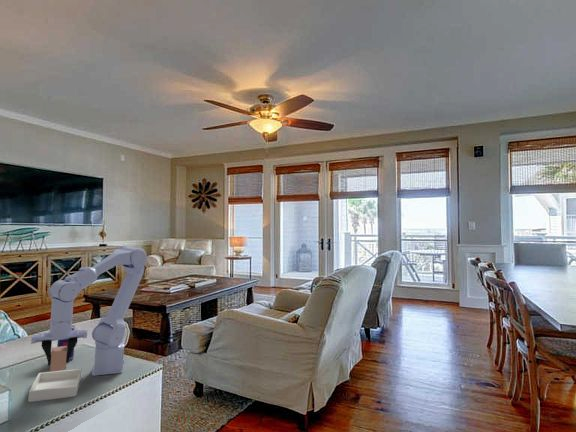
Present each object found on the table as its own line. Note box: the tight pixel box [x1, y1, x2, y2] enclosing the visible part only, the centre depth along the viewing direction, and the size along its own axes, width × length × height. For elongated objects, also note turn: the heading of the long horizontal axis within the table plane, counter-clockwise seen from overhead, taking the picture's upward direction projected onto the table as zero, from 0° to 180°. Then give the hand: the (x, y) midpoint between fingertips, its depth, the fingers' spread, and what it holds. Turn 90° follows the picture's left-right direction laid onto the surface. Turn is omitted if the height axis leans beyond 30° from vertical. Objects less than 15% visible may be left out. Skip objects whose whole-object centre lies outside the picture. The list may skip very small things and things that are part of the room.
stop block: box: [49, 346, 67, 372], centre depth 110 cm, size 4×4×6 cm
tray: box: [27, 368, 83, 403], centre depth 109 cm, size 12×12×3 cm
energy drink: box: [56, 324, 77, 362], centre depth 129 cm, size 5×5×12 cm
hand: (58, 362), depth 109 cm, fingers closed on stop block, 4 cm apart
